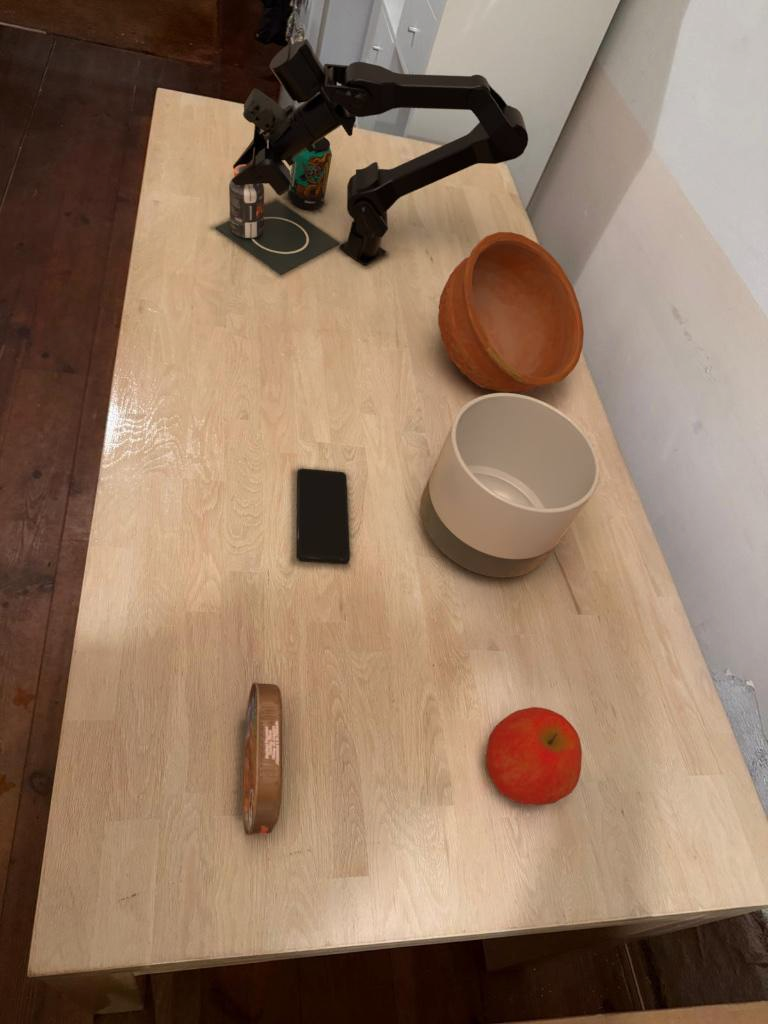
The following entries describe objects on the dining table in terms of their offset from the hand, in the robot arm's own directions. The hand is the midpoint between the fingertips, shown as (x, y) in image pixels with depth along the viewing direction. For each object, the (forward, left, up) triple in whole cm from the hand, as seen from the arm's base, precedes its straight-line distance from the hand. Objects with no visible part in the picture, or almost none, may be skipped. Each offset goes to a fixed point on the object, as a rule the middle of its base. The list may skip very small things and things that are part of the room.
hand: (234, 175), depth 125 cm
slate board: (-6, +6, -10) cm, 14 cm away
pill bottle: (-2, +2, -10) cm, 10 cm away
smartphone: (+36, +53, -10) cm, 65 cm away
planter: (+21, +70, -11) cm, 74 cm away
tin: (+66, +70, -11) cm, 97 cm away
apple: (+46, +92, -11) cm, 104 cm away
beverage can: (-19, +1, -11) cm, 22 cm away
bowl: (-9, +47, -9) cm, 48 cm away
